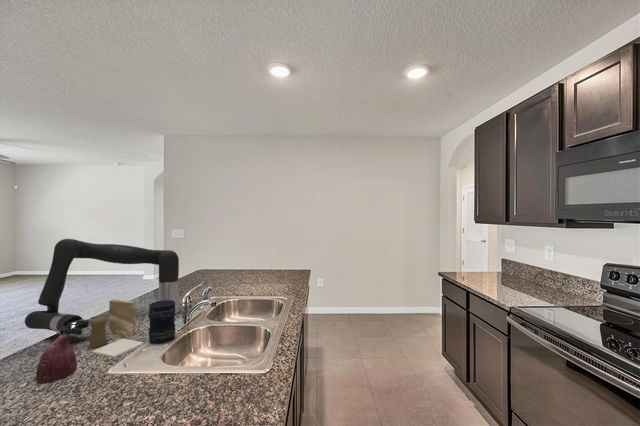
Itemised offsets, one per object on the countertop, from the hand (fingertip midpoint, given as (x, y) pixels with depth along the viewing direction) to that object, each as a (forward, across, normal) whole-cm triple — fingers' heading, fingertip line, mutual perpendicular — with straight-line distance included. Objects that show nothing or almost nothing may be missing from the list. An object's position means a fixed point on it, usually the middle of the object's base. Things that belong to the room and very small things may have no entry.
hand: (92, 328), depth 118 cm
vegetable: (+12, -19, +7) cm, 24 cm away
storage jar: (+22, +13, +7) cm, 27 cm away
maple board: (0, +12, +6) cm, 14 cm away
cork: (+3, 0, +7) cm, 7 cm away
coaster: (+13, +1, +6) cm, 15 cm away
